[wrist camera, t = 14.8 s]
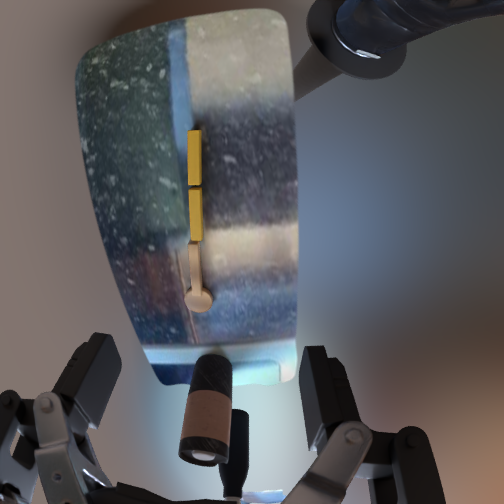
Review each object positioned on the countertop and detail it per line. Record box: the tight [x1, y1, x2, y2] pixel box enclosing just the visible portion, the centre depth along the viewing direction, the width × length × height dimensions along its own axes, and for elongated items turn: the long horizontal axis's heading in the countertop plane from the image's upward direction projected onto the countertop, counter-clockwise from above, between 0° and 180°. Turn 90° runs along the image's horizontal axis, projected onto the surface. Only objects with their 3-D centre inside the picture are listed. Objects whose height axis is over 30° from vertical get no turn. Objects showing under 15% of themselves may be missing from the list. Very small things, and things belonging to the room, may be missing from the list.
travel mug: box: [178, 355, 232, 467], centre depth 40 cm, size 8×8×20 cm
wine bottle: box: [218, 409, 249, 504], centre depth 44 cm, size 6×6×30 cm
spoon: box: [185, 240, 213, 313], centre depth 40 cm, size 12×4×2 cm, turn 179°
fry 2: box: [189, 187, 203, 241], centre depth 36 cm, size 7×2×2 cm, turn 178°
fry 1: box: [188, 130, 202, 185], centre depth 33 cm, size 7×2×2 cm, turn 179°
